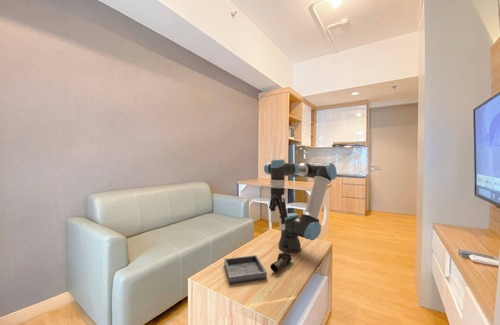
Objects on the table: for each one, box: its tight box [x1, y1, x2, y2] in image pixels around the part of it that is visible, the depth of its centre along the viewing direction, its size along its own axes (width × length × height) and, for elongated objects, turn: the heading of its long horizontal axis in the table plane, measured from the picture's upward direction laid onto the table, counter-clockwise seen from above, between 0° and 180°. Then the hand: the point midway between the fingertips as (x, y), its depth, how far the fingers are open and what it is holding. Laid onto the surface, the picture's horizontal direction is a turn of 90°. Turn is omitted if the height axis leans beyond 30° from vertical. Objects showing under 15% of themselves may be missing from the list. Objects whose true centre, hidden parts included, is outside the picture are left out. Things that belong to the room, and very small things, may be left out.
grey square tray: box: [223, 254, 268, 286], centre depth 108 cm, size 19×19×4 cm
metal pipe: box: [269, 252, 293, 273], centre depth 114 cm, size 18×7×6 cm, turn 141°
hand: (277, 225), depth 110 cm, fingers open, 13 cm apart
